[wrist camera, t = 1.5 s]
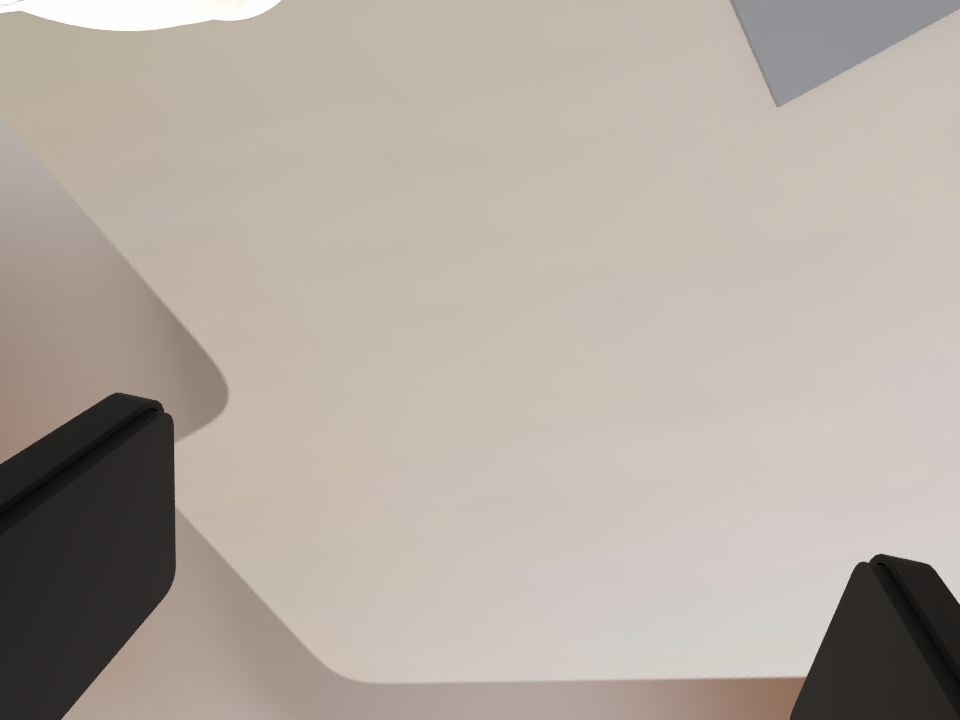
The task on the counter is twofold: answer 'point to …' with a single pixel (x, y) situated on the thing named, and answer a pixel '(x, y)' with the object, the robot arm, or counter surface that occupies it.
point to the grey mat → (826, 36)
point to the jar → (138, 12)
